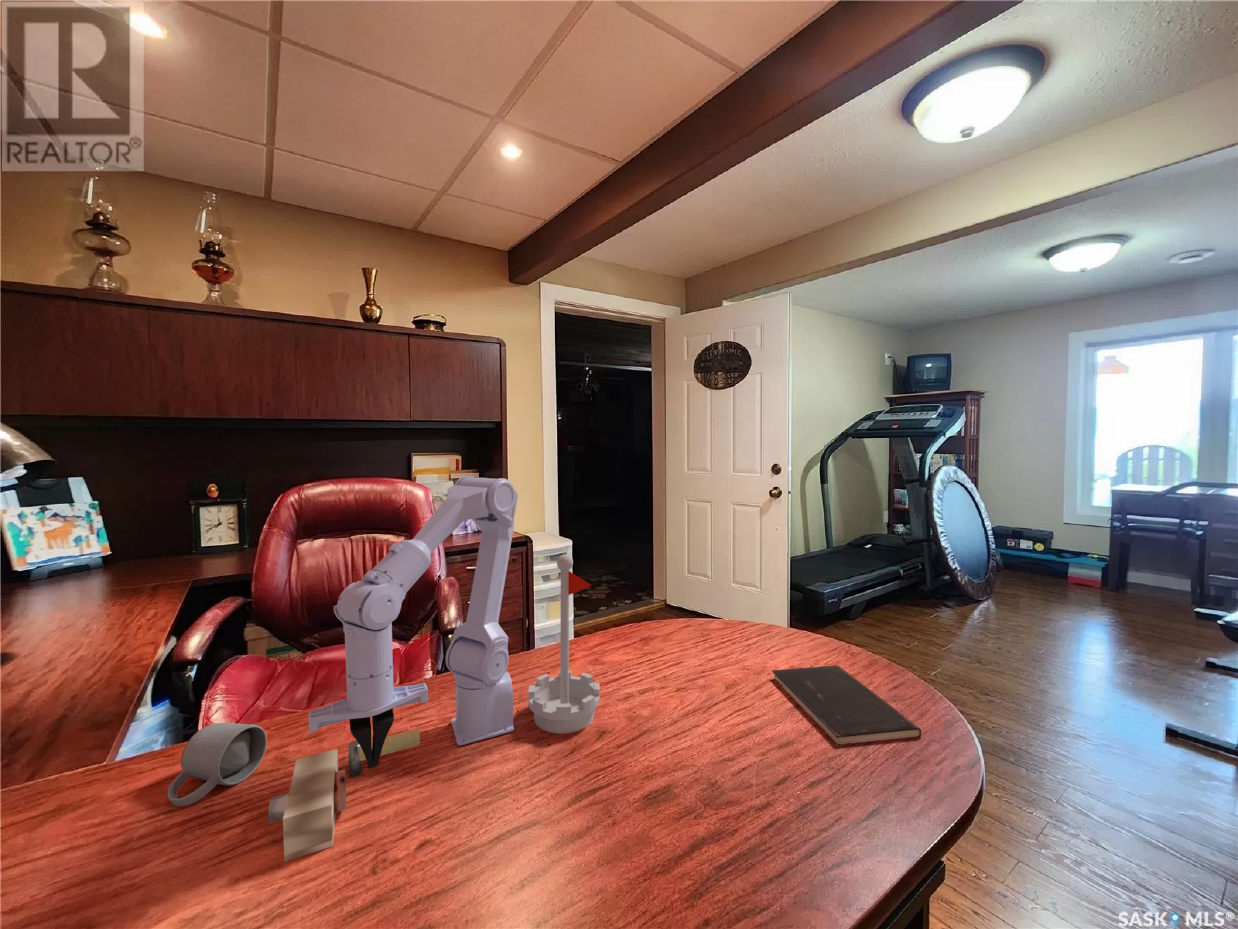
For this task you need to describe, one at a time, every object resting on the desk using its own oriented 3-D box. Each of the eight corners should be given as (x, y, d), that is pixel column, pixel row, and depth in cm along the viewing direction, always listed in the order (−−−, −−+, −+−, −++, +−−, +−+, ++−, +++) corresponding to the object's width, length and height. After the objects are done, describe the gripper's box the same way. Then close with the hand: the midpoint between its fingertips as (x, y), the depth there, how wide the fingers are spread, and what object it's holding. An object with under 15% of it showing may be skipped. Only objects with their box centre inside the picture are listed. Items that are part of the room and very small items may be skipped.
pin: (346, 794, 68) (345, 762, 68) (344, 818, 64) (343, 784, 64) (274, 815, 65) (273, 781, 64) (267, 842, 60) (266, 805, 60)
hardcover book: (836, 749, 81) (837, 735, 81) (771, 680, 104) (772, 670, 104) (921, 740, 84) (921, 727, 84) (840, 675, 106) (840, 665, 106)
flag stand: (515, 729, 85) (514, 560, 83) (547, 692, 97) (547, 544, 96) (584, 743, 81) (585, 567, 79) (609, 703, 94) (610, 549, 92)
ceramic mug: (227, 754, 77) (224, 708, 77) (269, 762, 76) (267, 715, 75) (151, 805, 67) (147, 752, 67) (198, 815, 65) (194, 761, 65)
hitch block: (338, 784, 71) (337, 749, 71) (332, 846, 60) (331, 804, 60) (297, 795, 69) (296, 759, 69) (284, 862, 58) (282, 819, 58)
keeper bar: (419, 752, 78) (418, 725, 78) (420, 759, 77) (419, 731, 76) (349, 771, 74) (348, 742, 74) (348, 779, 72) (347, 749, 72)
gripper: (421, 646, 74) (423, 731, 75) (308, 669, 66) (312, 764, 67) (429, 665, 68) (431, 758, 69) (306, 693, 60) (310, 797, 61)
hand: (372, 763), depth 68 cm, fingers closed
